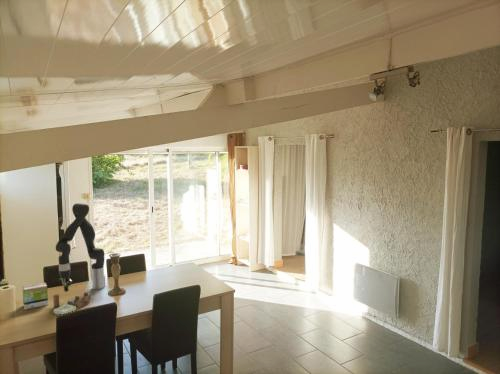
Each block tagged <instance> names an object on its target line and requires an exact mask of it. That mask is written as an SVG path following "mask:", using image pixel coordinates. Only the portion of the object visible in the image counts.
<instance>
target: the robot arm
mask: <svg viewBox="0 0 500 374" xmlns="http://www.w3.org/2000/svg"><path fill="white" fill-rule="evenodd" d="M71 210H72V213H73V216H74V217H75V219H74V220H73V221H72V222H71V223H70V224H69V225H68V226H67V228H66V229H65V232H64V233H63V235H62V237H61V238H60V239H59V240H58V241H57V242H56V245H55V250H56V252H59V253H61V255H59V256H58V274H59V276H60V278H58V282H59V283H60V285H61V286H63V291H64V292H66V293H67V292H69V286H71V285H72V283H73V281H74V280H73V279H71V274H72V272H71V264H70V254H71V245H70V244H69V243H68V242H71V241H72V240H73V239H74V237H75V235H76V232H77V230H78V229H80V232H81V234H82V237H83V240H84V244H85V246H86V250H87V254H88V257H89V259H91V260H95V262H94V263H92V264H91V282H92V283H91V285H92V290H102V289H104V288H105V287H106V275H105V273H104V272H105V271H104V270H105V269H104V265H105V250H104V249H103V248H99V247H98V248H97V247H96V246H95V243H94V241H95V238H96V232H95V231H96V230H95V228H94V226H93V225H92V223H91V222H90V221H88V219H87V218H86V217H87V216H88V214H89V211H90V206H89V205H88V204H86V203H77V202H76V203H73V205H72V207H71Z"/></svg>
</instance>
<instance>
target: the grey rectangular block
mask: <svg viewBox="0 0 500 374" xmlns="http://www.w3.org/2000/svg"><path fill="white" fill-rule="evenodd" d="M78 296H79V297H81V296H80V295H78ZM74 300H75V297H74V298H72V299H69V300H67V305H72V306H74Z"/></svg>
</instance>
